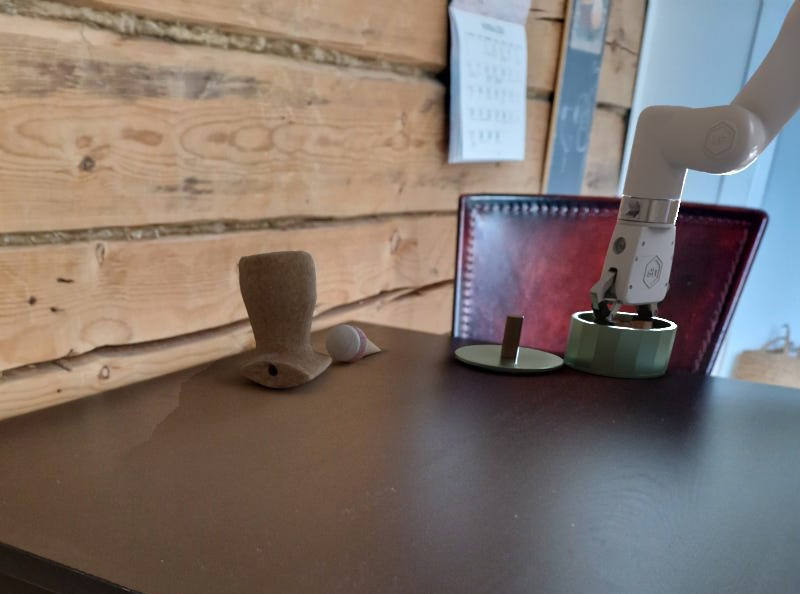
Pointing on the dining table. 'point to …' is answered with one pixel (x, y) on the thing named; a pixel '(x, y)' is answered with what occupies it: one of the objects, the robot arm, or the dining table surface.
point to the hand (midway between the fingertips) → (618, 346)
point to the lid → (509, 353)
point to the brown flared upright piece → (281, 317)
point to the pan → (619, 347)
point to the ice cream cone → (348, 343)
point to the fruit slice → (632, 324)
